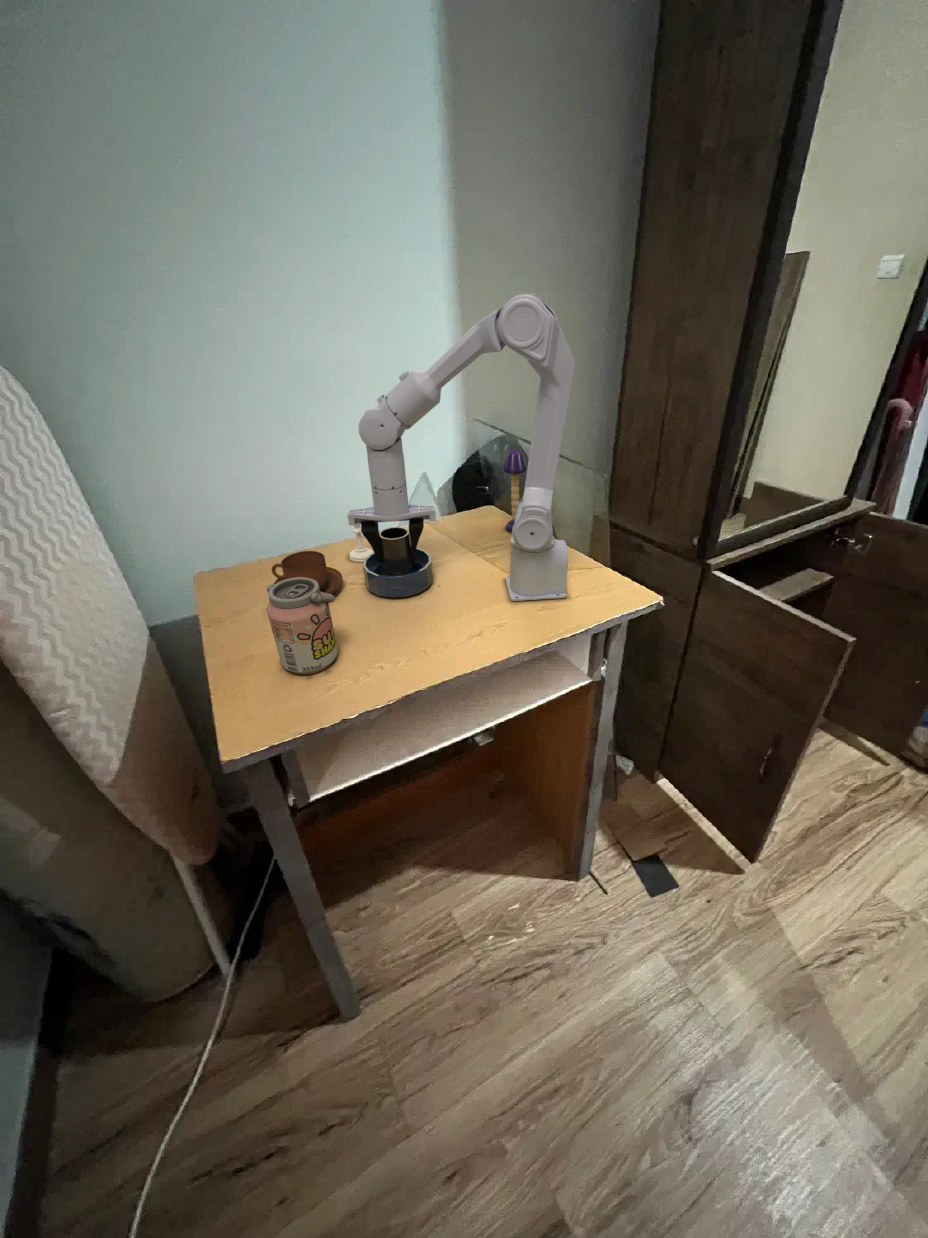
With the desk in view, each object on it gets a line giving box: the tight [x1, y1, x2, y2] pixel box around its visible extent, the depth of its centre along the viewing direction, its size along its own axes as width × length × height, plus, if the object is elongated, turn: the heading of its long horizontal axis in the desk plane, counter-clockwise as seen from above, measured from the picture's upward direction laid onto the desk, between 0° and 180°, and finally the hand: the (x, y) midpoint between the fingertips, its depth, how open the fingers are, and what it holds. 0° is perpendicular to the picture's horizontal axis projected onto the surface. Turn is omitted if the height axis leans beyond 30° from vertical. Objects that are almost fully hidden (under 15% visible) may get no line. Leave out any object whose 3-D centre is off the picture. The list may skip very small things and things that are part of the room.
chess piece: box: [348, 507, 374, 563], centre depth 102 cm, size 5×5×10 cm
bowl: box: [362, 547, 434, 598], centre depth 94 cm, size 12×12×4 cm
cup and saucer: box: [271, 550, 343, 595], centre depth 92 cm, size 12×12×6 cm
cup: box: [378, 526, 412, 576], centre depth 92 cm, size 5×5×7 cm
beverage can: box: [266, 577, 339, 676], centre depth 74 cm, size 9×8×12 cm
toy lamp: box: [503, 448, 527, 533], centre depth 110 cm, size 5×5×17 cm
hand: (397, 559), depth 93 cm, fingers closed on cup, 5 cm apart
